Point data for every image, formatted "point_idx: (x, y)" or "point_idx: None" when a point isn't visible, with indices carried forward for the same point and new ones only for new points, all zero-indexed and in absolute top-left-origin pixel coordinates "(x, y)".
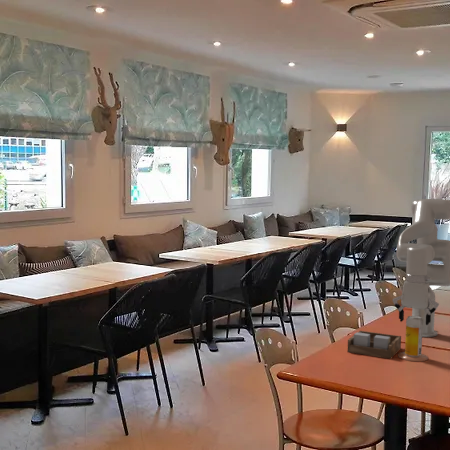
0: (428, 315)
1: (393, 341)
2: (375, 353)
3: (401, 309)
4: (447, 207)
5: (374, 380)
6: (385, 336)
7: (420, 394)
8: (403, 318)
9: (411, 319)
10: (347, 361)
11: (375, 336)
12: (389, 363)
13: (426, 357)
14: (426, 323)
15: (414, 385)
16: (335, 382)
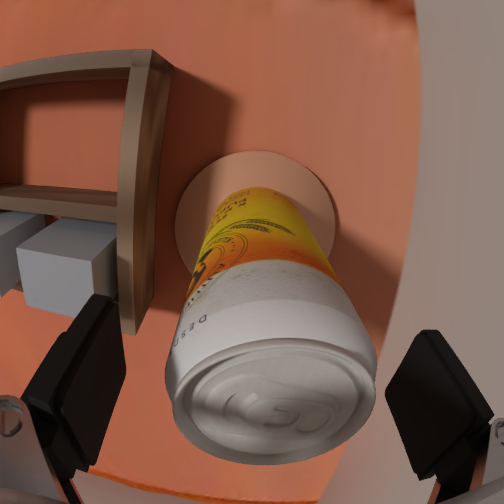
0: (444, 454)
1: (120, 232)
2: None
3: (70, 492)
4: None
5: (174, 467)
6: (63, 263)
7: (280, 490)
8: (111, 327)
9: (238, 455)
10: None
11: (25, 286)
12: (166, 357)
13: (328, 238)
14: (392, 404)
15: (269, 470)
16: (112, 475)
